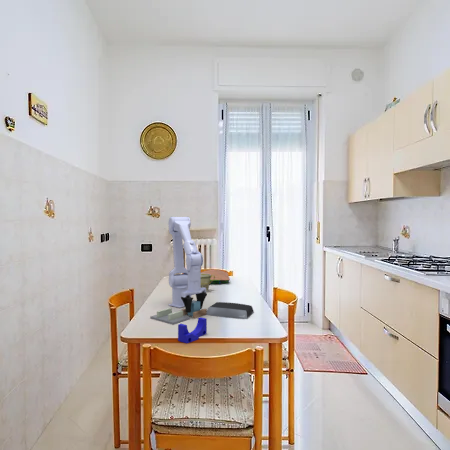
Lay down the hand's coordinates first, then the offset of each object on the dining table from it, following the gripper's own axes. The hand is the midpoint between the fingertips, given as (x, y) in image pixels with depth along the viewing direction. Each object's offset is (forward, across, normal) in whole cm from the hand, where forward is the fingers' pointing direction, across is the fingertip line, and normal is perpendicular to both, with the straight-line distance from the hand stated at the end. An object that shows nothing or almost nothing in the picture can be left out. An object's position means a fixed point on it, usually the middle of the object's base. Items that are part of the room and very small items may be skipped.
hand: (194, 310), depth 161 cm
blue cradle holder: (+2, -22, -20) cm, 30 cm away
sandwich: (+3, +71, +47) cm, 85 cm away
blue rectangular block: (+2, 0, 0) cm, 2 cm away
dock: (+2, -11, +4) cm, 12 cm away
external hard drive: (+3, +12, -11) cm, 17 cm away
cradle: (+2, 0, 0) cm, 2 cm away
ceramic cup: (+2, +40, +28) cm, 49 cm away
